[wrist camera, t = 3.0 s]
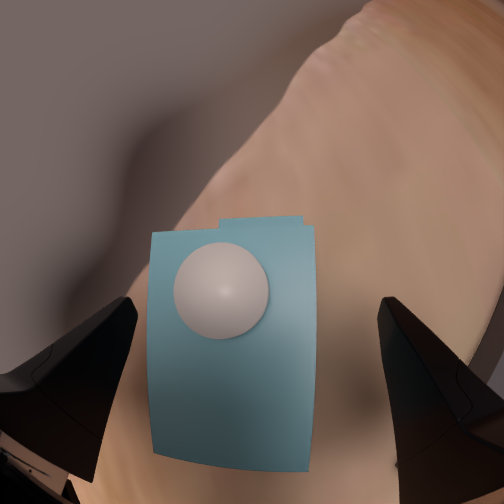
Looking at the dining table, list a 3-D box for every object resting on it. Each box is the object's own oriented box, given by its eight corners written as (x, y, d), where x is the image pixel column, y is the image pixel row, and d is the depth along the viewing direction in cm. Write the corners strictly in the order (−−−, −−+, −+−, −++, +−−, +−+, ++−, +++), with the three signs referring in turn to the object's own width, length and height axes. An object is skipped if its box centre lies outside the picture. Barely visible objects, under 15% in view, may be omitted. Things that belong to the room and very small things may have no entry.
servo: (300, 418, 14) (299, 542, 4) (234, 416, 14) (156, 521, 4) (301, 238, 16) (306, 122, 6) (236, 240, 17) (156, 139, 7)
